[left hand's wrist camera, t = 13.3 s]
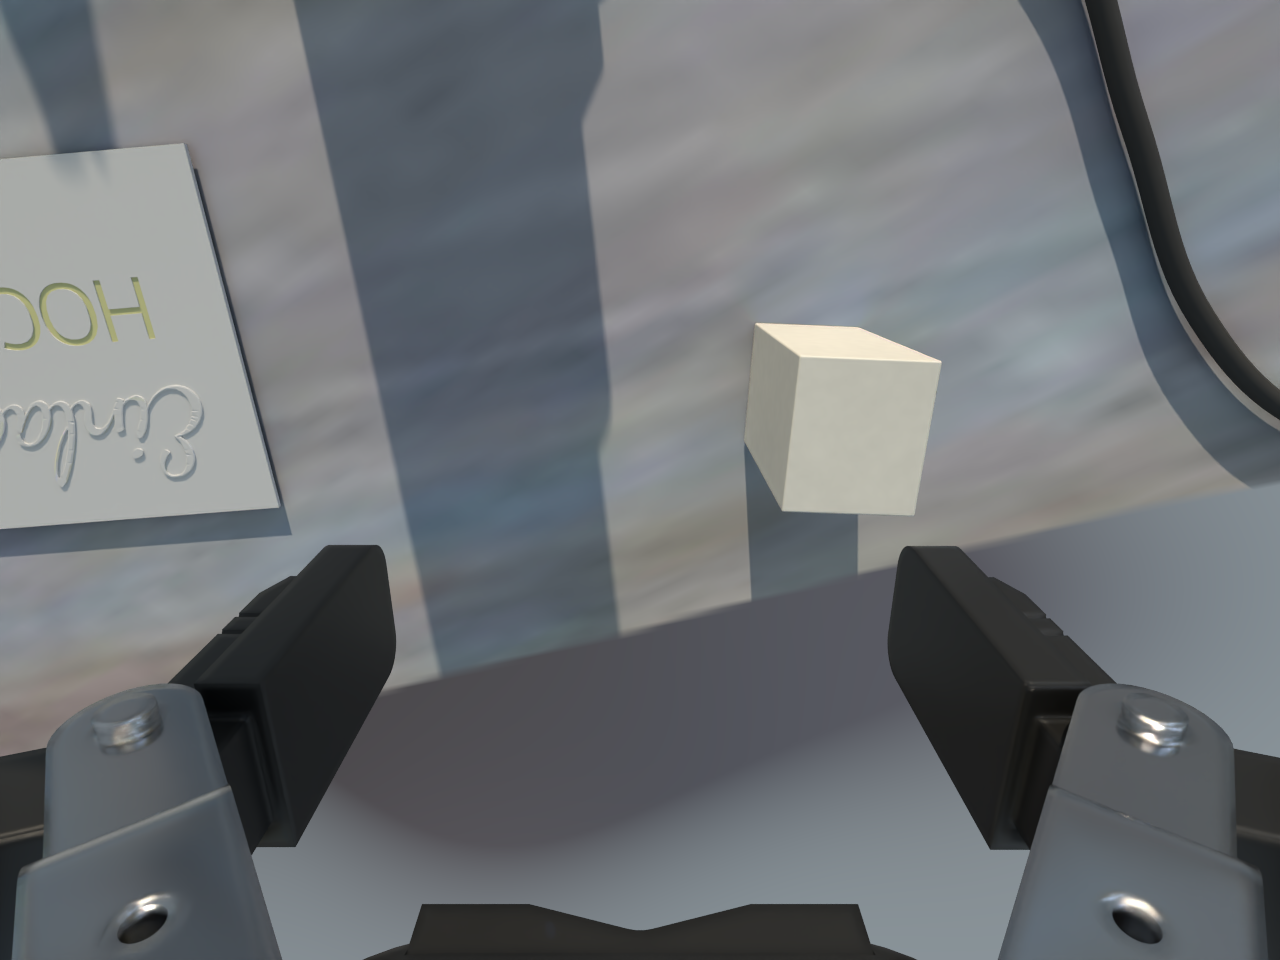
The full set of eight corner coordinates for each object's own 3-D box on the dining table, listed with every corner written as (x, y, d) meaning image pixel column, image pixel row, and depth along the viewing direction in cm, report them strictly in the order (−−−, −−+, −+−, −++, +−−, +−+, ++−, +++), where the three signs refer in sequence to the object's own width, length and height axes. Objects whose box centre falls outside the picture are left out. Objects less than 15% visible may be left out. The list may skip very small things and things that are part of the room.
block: (859, 327, 30) (943, 361, 22) (843, 445, 32) (914, 517, 24) (754, 322, 30) (799, 355, 22) (743, 441, 32) (781, 512, 24)
